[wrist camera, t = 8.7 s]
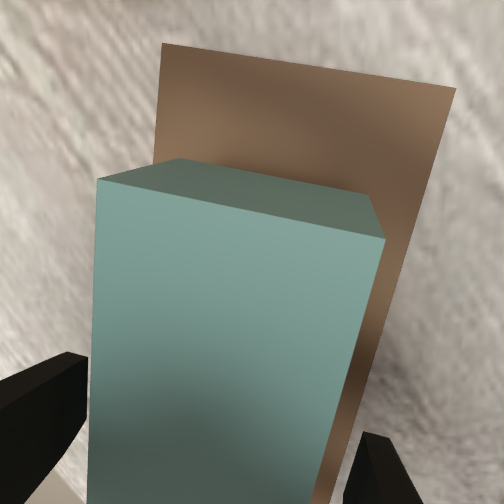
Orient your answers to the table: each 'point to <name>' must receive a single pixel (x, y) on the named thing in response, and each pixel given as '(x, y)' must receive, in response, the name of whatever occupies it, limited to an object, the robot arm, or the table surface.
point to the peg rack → (312, 160)
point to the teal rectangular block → (221, 332)
